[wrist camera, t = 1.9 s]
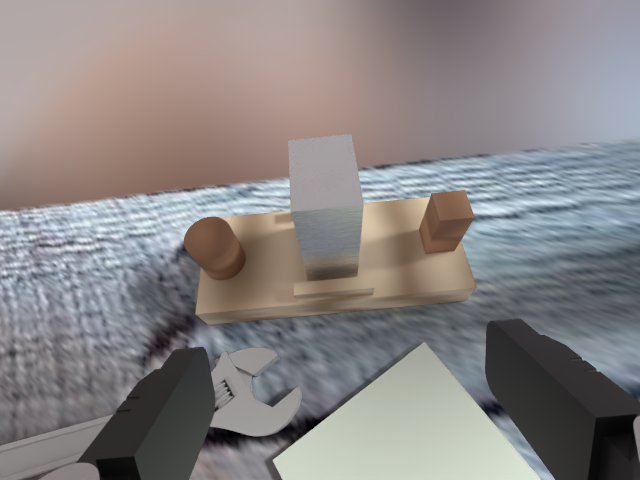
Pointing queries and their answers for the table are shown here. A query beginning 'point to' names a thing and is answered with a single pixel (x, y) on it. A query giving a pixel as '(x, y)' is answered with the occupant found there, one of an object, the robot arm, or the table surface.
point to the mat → (406, 433)
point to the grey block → (326, 205)
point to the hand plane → (335, 294)
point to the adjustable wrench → (233, 414)
